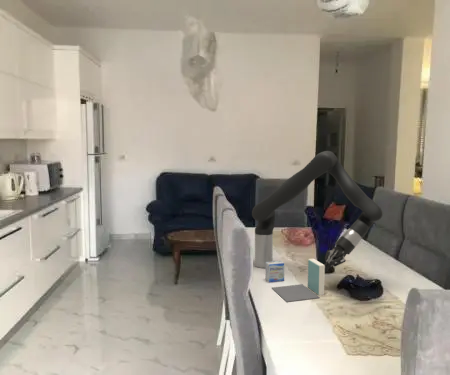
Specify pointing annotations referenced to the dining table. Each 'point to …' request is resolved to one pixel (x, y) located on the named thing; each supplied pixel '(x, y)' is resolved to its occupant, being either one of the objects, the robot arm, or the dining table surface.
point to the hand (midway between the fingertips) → (323, 270)
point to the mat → (295, 293)
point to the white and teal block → (316, 276)
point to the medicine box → (274, 271)
